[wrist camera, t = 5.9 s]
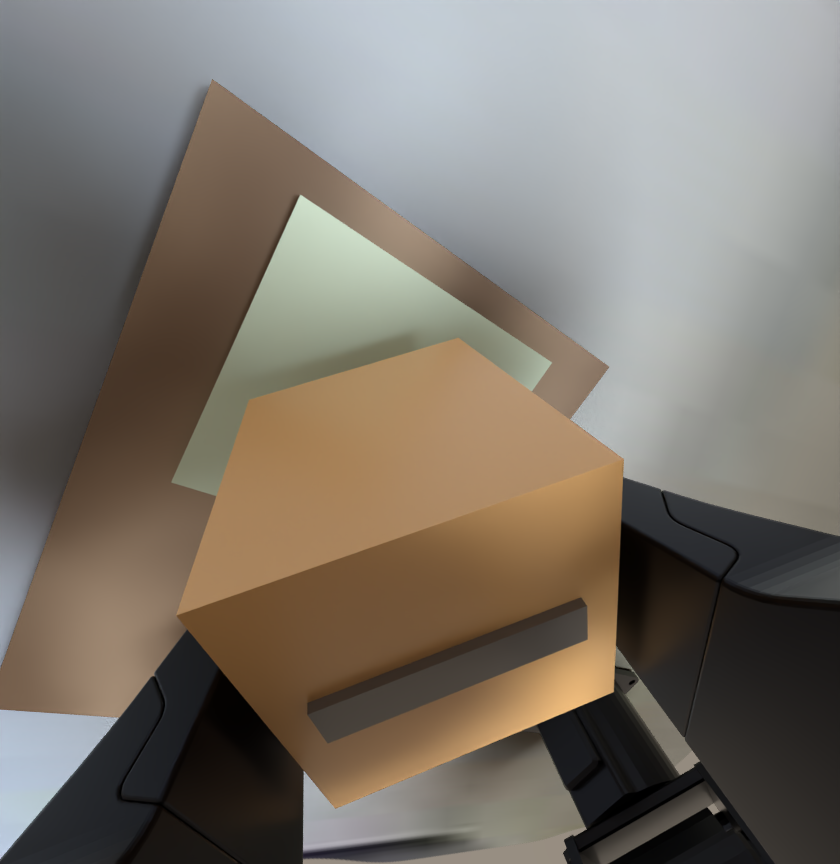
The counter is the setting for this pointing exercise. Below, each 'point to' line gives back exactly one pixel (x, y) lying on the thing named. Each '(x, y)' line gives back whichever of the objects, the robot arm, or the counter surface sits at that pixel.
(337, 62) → the counter surface
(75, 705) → the board
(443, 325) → the pad
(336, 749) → the box
